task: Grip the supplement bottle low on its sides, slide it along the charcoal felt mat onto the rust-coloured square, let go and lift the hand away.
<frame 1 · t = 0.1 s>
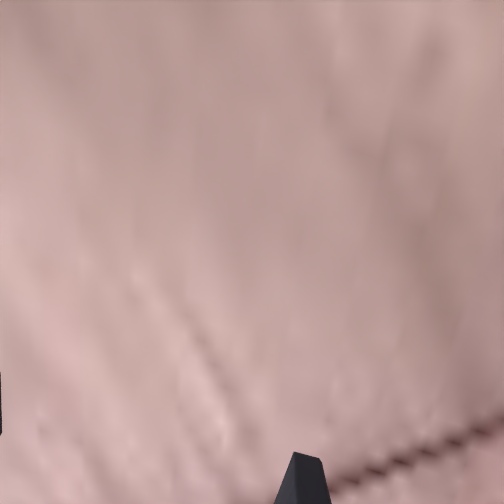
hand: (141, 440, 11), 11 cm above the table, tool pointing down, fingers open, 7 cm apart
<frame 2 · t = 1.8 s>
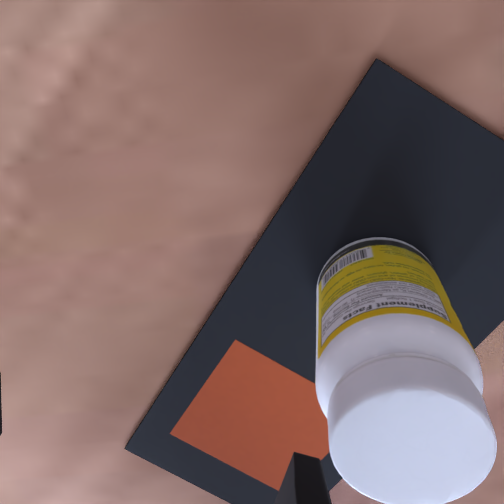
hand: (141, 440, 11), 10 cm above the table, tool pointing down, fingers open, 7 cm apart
place mat: (320, 351, 21), on the table
supplement bottle: (375, 285, 19), resting on place mat
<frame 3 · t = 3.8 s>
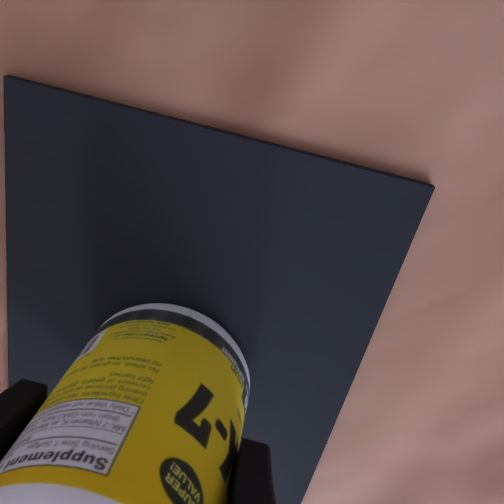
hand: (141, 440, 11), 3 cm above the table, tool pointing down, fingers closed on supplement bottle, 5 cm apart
place mat: (156, 454, 16), on the table
supplement bottle: (173, 363, 14), resting on place mat, touching gripper
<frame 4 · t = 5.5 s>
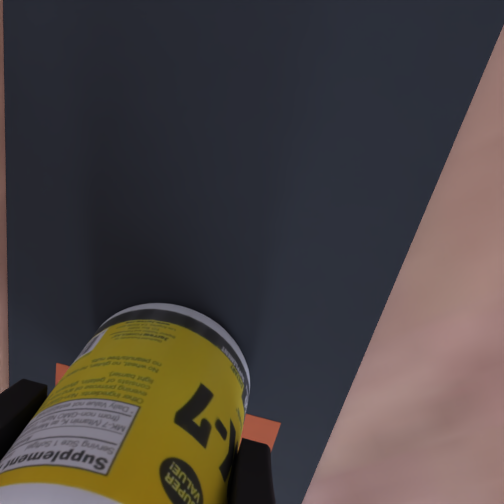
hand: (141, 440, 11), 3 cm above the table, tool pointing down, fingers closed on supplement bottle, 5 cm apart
place mat: (177, 349, 14), on the table
supplement bottle: (173, 362, 14), resting on place mat, touching gripper
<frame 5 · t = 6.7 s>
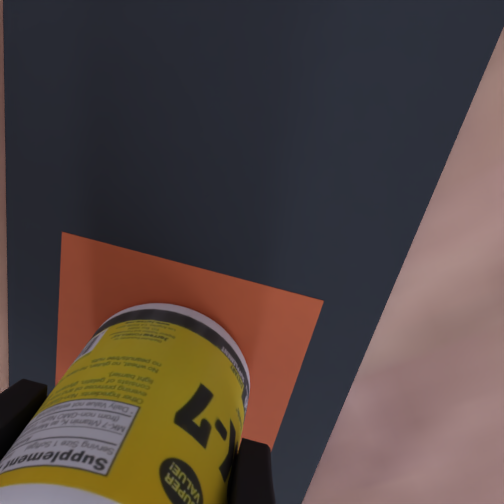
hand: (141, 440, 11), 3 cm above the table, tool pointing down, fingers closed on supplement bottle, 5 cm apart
place mat: (204, 210, 12), on the table
supplement bottle: (173, 362, 14), resting on place mat, touching gripper
when the fingers open (3 cm above the table, at t = 7.4 s): supplement bottle stays where it is, resting on place mat.
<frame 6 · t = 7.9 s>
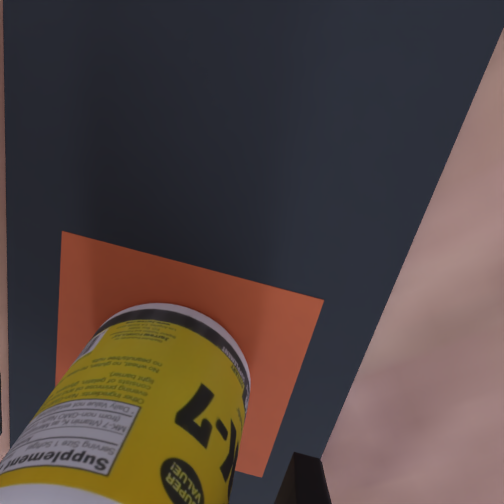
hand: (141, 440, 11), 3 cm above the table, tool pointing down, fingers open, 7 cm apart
place mat: (204, 209, 12), on the table
supplement bottle: (174, 362, 14), resting on place mat
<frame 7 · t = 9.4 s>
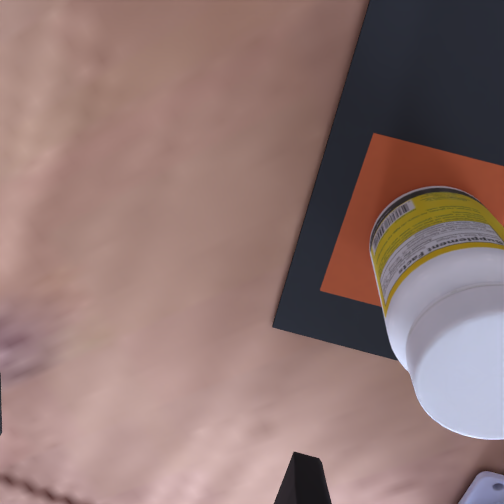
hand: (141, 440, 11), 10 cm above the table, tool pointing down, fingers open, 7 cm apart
place mat: (482, 114, 17), on the table
supplement bottle: (428, 237, 19), resting on place mat
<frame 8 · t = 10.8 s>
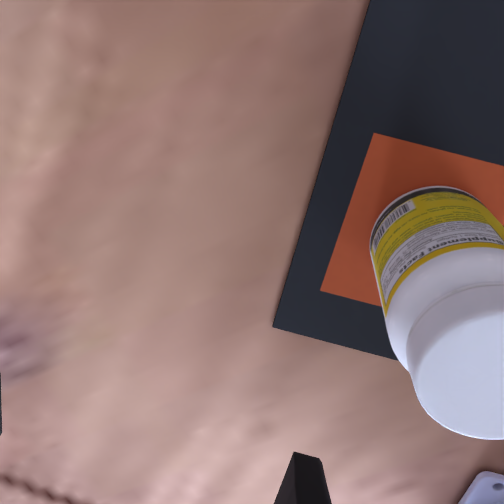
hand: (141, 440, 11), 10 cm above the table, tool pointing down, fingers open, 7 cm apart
place mat: (483, 114, 17), on the table
supplement bottle: (428, 237, 19), resting on place mat
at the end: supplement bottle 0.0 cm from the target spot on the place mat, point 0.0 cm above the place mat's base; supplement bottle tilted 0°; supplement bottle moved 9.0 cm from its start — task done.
